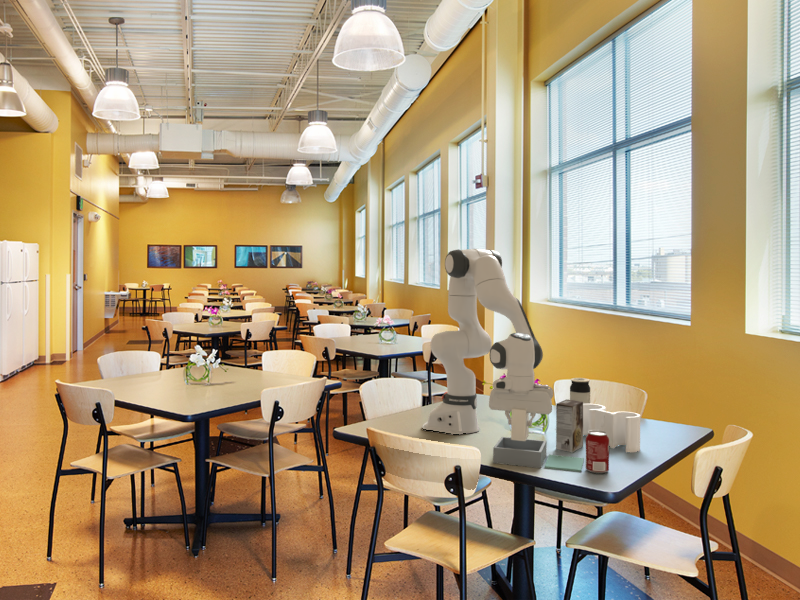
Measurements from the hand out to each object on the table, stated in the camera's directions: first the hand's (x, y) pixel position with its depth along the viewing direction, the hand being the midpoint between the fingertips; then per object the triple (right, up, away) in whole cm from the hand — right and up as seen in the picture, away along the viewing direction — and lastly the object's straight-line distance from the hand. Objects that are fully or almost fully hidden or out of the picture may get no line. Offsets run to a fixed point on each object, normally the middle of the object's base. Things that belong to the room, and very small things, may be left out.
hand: (520, 425), depth 194 cm
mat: (+13, -11, -5) cm, 18 cm away
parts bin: (0, -11, 0) cm, 11 cm away
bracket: (+35, -11, +19) cm, 42 cm away
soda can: (+21, -12, -12) cm, 27 cm away
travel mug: (+35, -10, +49) cm, 61 cm away
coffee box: (+20, -11, +13) cm, 26 cm away
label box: (0, -4, 0) cm, 4 cm away
